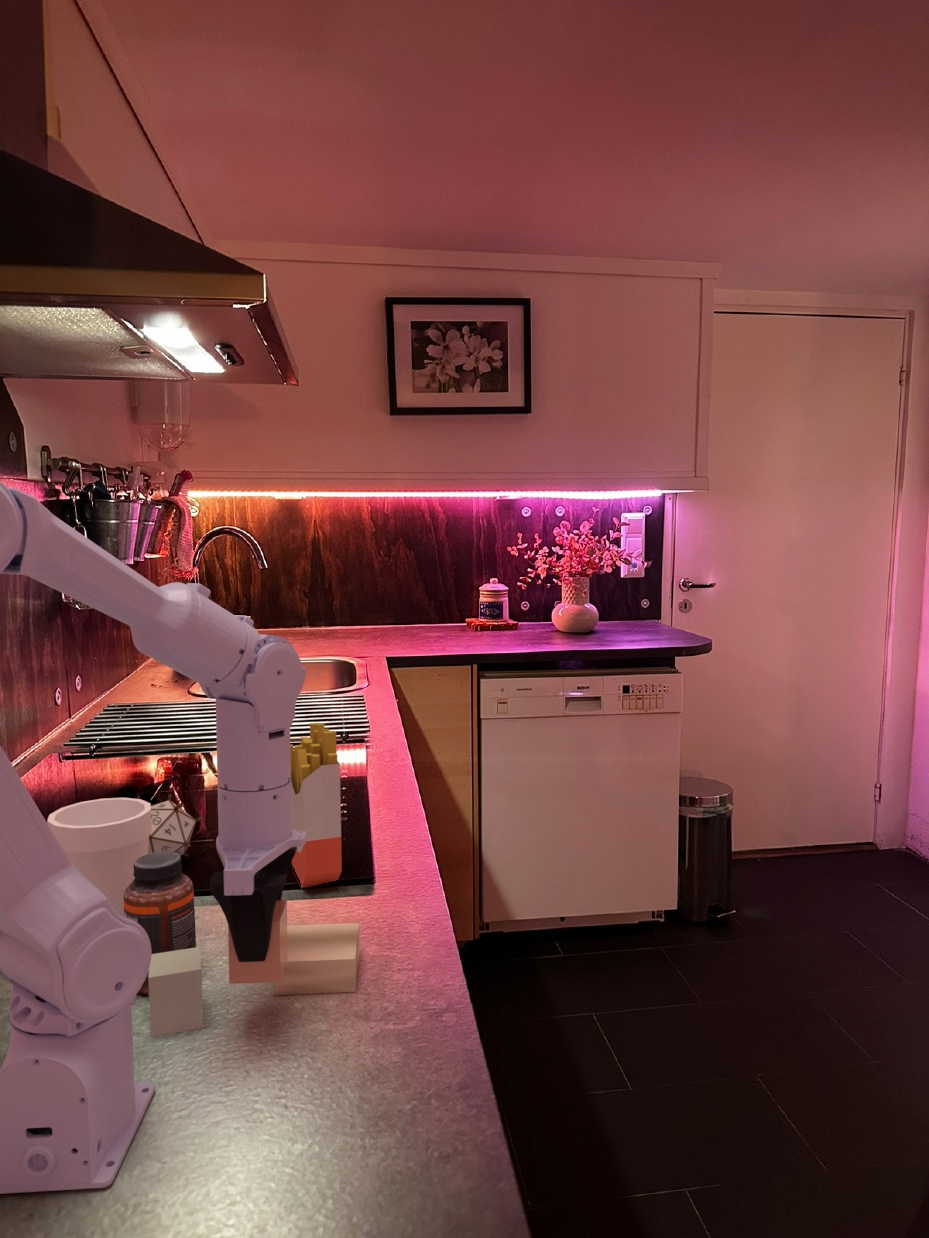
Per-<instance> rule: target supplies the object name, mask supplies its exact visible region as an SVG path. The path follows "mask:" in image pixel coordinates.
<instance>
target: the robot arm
mask: <svg viewBox="0 0 929 1238" xmlns="http://www.w3.org/2000/svg"><path fill="white" fill-rule="evenodd" d="M1 574H4V575H23V576H26V577H29V578H31V579H32V580H34V581H37V582H38V583H41V584H42V585H46V586H47V587H50V588H51V589H53V590H56V591H58V592H60V593H61V594H64V595H66V596H67V597H70V598H72V599H74V600H76V601H78V602H80V603H82V604H84V605H85V606H86V605H87V606H89V607H90V608H93V609H94V610H96V611H99V612H101V613H103V614H104V615H106V616H109V617H111V618H112V619H114V620H117V621H118V622H120V623H122V624H125V625H127V626H128V627H129V628H130V632H131V637H132V642H133V645H134V646H135V648H136V650H137V651H139V652H140V653H141V654H143V655H145V656H146V657H149V658H150V659H152V660H155V661H156V662H158V663H160V664H161V665H164V666H166V667H168V668H170V669H171V670H174V672H178V673H179V674H181V675H183V676H184V677H186V678H189V679H190V680H192V681H194V682H197V683H198V684H199V686H200V689H201V690H202V692H203V693H204V695H205V696H206V697H207V698H209V699H212V700H213V699H215V728H216V761H217V762H216V775H217V776H216V777H217V816H218V818H217V819H218V820H217V823H218V824H217V825H218V828H217V829H218V835H217V837H216V839H215V847H216V851H217V854H218V856H219V858H220V860H221V863H222V866H223V868H224V869H223V871H216V872H214V873H213V875H212V876H211V878H210V880H209V888H210V892H211V895H212V896H213V898H214V899H215V901H216V902H217V903H218V905H219V906H220V909H221V910H222V912H223V915H224V917H225V919H226V922H227V926H228V925H229V929H230V933H231V936H232V940H233V944H234V948H235V952H236V955H237V958H238V961H239V962H261V961H265V959H266V956H267V952H268V948H269V944H270V937H271V929H272V921H273V915H274V910H275V905H276V901H277V900H283V899H282V897H283V893H284V888H285V887H284V886H285V883H286V879H287V877H288V870H289V868H290V865H291V864H292V859H293V857H294V855H295V853H296V850H297V847H301V846H304V845H305V843H306V840H307V833H306V831H295V830H292V822H291V753H290V745H291V727H292V725H293V721H294V720H296V703H297V700H298V697H299V696H300V694H301V693H302V690H303V688H304V684H305V680H306V675H307V667H305V666H303V665H302V660H301V658H300V655H299V654H298V652H297V651H296V649H295V647H294V646H293V644H292V643H291V641H289V640H287V639H286V638H284V637H282V636H280V635H276V634H275V635H274V634H261V633H259V632H258V630H257V629H256V628H255V627H254V623H255V622H254V620H253V619H251V618H250V617H249V616H246V615H235V614H233V613H232V612H230V611H228V610H227V609H225V608H223V607H222V606H221V605H220V604H217V603H216V602H214V601H213V600H211V599H209V597H210V595H211V592H212V591H211V590H210V589H209V588H207V587H206V586H204V585H203V584H201V583H199V582H198V583H197V582H195V583H193V582H187V583H186V584H185V583H183V582H179V581H175V582H170V583H169V582H168V583H166V584H164V585H160V586H158V585H156V584H154V583H153V582H151V581H150V580H149V579H147V578H145V577H144V576H143V575H142V574H141V573H138V572H137V571H136V570H134V569H133V568H131V567H130V566H129V565H127V564H125V563H124V562H122V561H121V560H120V559H118V558H117V557H115V556H113V555H112V554H111V553H109V552H108V551H106V549H103V548H102V547H101V546H99V545H98V544H96V543H95V542H93V541H92V540H90V539H89V538H87V537H86V536H85V535H83V534H82V533H80V532H79V531H77V529H75V528H73V527H71V526H70V525H69V524H67V523H66V522H64V521H63V520H61V519H60V518H59V517H57V516H56V515H55V514H53V513H52V512H51V511H50V510H49V509H48V508H46V507H45V505H43V503H41V502H40V501H39V500H38V499H37V498H36V497H34V496H32V495H31V494H28V493H26V492H23V491H22V490H19V489H16V488H14V487H13V488H11V487H10V488H8V487H7V486H6V485H5V484H4V483H3V482H2V481H1V480H0V575H1ZM32 797H33V796H31V794H30V792H29V791H28V789H27V787H26V786H25V784H24V782H23V781H22V779H21V777H20V775H19V774H18V773H17V770H16V769H15V767H14V766H13V764H12V762H11V761H10V759H9V757H8V756H7V754H6V752H5V751H4V749H3V748H2V746H1V745H0V977H1V978H4V979H5V980H7V981H9V990H10V991H9V992H10V993H9V994H10V999H9V1000H10V1001H9V1019H10V1020H9V1023H10V1036H9V1037H10V1038H9V1045H8V1050H7V1053H6V1055H5V1058H4V1061H3V1063H2V1065H1V1067H0V1194H19V1193H21V1194H22V1193H34V1192H52V1191H53V1192H54V1191H69V1190H70V1191H71V1190H72V1191H73V1190H85V1189H87V1190H88V1189H103V1188H106V1187H108V1186H111V1184H112V1183H113V1182H114V1180H115V1178H116V1176H117V1173H118V1171H119V1169H120V1167H121V1165H122V1162H123V1160H124V1158H125V1156H126V1154H127V1152H128V1149H129V1148H130V1145H131V1143H132V1140H133V1139H134V1136H135V1134H136V1133H137V1130H138V1128H139V1125H140V1123H141V1121H142V1119H143V1117H144V1115H145V1113H146V1111H147V1108H148V1106H149V1104H150V1101H151V1100H152V1098H153V1095H154V1093H155V1091H156V1084H155V1082H153V1081H140V1082H135V1068H134V1067H135V1065H134V1064H135V1062H134V1061H135V1060H134V1042H133V1041H134V1038H133V1035H134V1034H133V1017H132V1016H133V1013H132V1011H133V1009H132V1007H133V1006H134V1004H135V997H136V995H137V994H138V991H139V990H140V988H141V987H142V985H143V983H144V981H145V979H146V976H147V974H148V971H149V967H150V962H151V943H150V940H149V937H148V935H147V933H146V931H145V930H144V929H143V927H142V926H141V925H139V924H138V923H137V922H135V921H133V920H130V919H128V918H125V917H123V916H121V915H119V914H118V913H117V912H116V911H115V909H114V908H113V907H112V905H111V903H110V901H109V900H108V898H107V897H106V896H105V895H104V894H103V893H102V892H101V891H100V890H99V889H98V888H97V887H96V886H95V885H93V884H92V883H91V882H90V881H89V880H88V879H87V878H86V877H85V876H84V875H82V874H81V873H80V872H79V871H78V870H77V869H76V868H75V867H74V866H73V865H72V864H71V862H70V861H69V859H68V857H67V856H66V854H65V852H64V851H63V849H62V847H61V846H60V844H59V842H58V841H57V839H56V837H55V836H54V834H53V832H52V831H51V829H50V827H49V826H48V824H47V821H46V819H45V817H44V816H43V814H42V812H41V811H40V809H39V807H38V805H37V804H36V802H35V801H34V799H33V798H32Z"/></svg>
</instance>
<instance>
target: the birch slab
mask: <svg viewBox="0 0 929 1238" xmlns="http://www.w3.org/2000/svg"><path fill="white" fill-rule="evenodd" d="M360 941H361V940H360V923H359V922H350V923H349V922H347V923H346V922H345V923H317V924H315V923H314V924H294V925H293V924H292V925H288V924H287V953H288V958H287V961H286V965H285V968H284V972H283V975H282V979H281V982H273V985H274V986H273V988H274V990H273V991H274V996H289V995H290V996H292V995H309V994H336V993H337V994H338V993H356V991H357V990H356V989H357V983H358V982H357V981H358V980H357V979H358V971H359V963H360V952H361V951H360V948H361V946H360Z"/></svg>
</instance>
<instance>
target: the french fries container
mask: <svg viewBox="0 0 929 1238" xmlns="http://www.w3.org/2000/svg"><path fill="white" fill-rule="evenodd" d="M309 735H310V736H309V737H308V736H305V737H304V736H302V737H300V744H298V745H297V744H296V745H294V744H290V753H291V822H292V830H295V831H306V833H307V840H306V843H305V845H304V846H301V847H297V850H296V853H295V855H294V857H293V859H292V861H291V864H292V865H291V866H293V867H294V869H295V872H296V874H297V876H298V878H299V880H300V883H301V886H300V888H301V889H306V888H313V887H312V886H314V887H317V886H316V885H319V884H323V883H328V882H332V881H336V880H338V881H339V878H340V876H341V873H342V871H343V870H342V869H343V868H342V859H343V858H342V815H341V814H342V812H341V807H342V806H341V804H342V803H341V801H342V800H341V763H340V762H339V761H338V754H337V732H336V731H334V730H330V728H325V723H319V722H312V723H309ZM293 867H292V868H293Z"/></svg>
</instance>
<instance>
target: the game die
mask: <svg viewBox="0 0 929 1238" xmlns="http://www.w3.org/2000/svg"><path fill="white" fill-rule="evenodd" d="M172 798H173V795H172V794H171V793H169V794H168V795H167V800H165V801H164V800H163V801H160V802H158V803H155V804H152V805H151V827H152V833H150V834H149V844H148V854H149V853H154V852H163V851H170V852H175V853H178V854H179V855H180V857H182V856H183V857H184V856H185V857H186V856H189V857H190V854H189V853H188V852H187V851H188V848H190V847H192V846H191V843H190V841H191V839H192V836H193V833H194V830H195V827H196V825H197V822H198V823H199V822H202V820H203V819H204V817H201V816H199V817H197V818H196V817H195V818H194V816H192V815H191V814H190V813H188V812H187V811H185V810H184V809H183V808H182V807H180V804H176V802H174V801H172ZM186 852H187V853H186ZM185 857H184V858H185Z"/></svg>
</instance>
